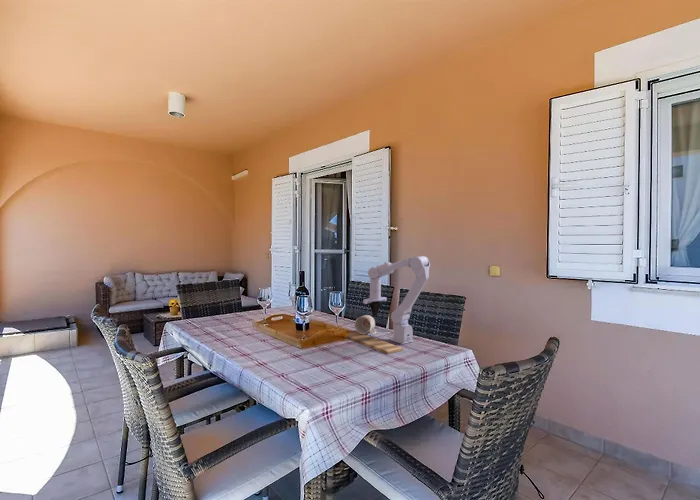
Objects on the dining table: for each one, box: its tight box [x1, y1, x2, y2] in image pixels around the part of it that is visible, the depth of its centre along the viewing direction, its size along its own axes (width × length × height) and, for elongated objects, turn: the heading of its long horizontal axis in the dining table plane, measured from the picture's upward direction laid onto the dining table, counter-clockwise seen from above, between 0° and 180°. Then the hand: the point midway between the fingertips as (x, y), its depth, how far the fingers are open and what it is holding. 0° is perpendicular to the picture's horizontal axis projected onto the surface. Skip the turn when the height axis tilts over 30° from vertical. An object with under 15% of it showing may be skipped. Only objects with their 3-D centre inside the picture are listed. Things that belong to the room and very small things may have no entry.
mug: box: [354, 314, 378, 337], centre depth 195 cm, size 12×9×11 cm
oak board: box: [359, 336, 404, 355], centre depth 172 cm, size 20×9×2 cm, turn 36°
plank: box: [345, 330, 374, 344], centre depth 187 cm, size 16×9×2 cm, turn 36°
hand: (374, 316), depth 191 cm, fingers closed
